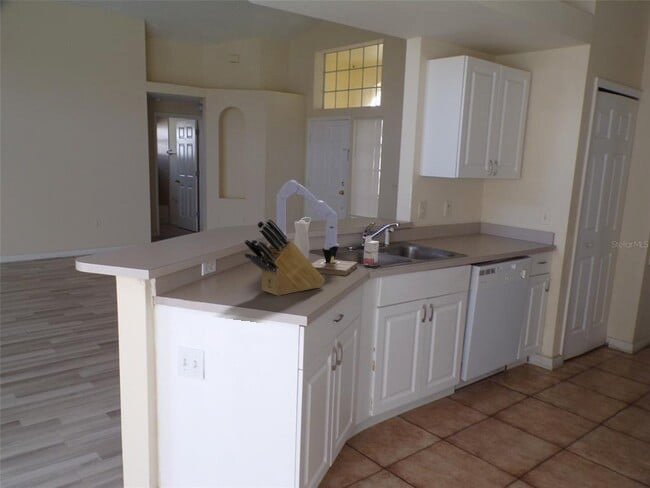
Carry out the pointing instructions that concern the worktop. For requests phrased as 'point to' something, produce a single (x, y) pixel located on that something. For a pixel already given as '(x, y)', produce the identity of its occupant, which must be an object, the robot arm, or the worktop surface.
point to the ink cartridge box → (370, 250)
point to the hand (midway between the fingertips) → (330, 261)
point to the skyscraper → (302, 236)
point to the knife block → (282, 263)
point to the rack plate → (334, 267)
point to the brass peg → (331, 260)
